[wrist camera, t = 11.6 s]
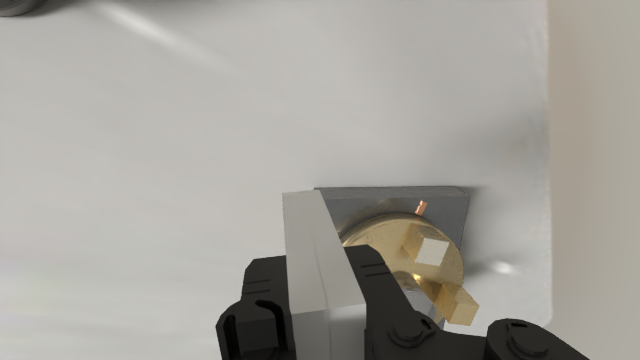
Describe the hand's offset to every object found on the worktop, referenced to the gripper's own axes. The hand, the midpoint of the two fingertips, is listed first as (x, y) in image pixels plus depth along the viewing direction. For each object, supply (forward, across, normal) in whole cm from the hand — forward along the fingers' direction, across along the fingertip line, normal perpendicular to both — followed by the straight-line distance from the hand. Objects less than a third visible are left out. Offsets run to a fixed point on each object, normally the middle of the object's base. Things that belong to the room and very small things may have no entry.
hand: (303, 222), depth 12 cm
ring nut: (+22, +12, -20) cm, 33 cm away
